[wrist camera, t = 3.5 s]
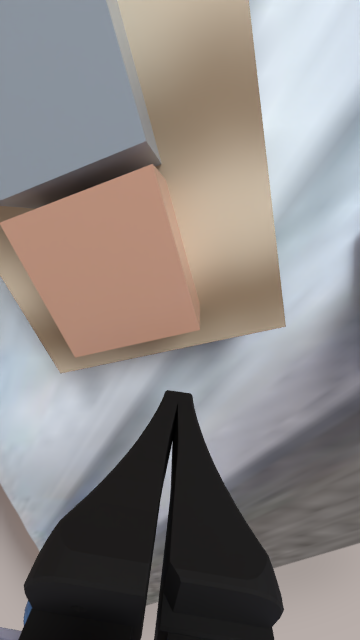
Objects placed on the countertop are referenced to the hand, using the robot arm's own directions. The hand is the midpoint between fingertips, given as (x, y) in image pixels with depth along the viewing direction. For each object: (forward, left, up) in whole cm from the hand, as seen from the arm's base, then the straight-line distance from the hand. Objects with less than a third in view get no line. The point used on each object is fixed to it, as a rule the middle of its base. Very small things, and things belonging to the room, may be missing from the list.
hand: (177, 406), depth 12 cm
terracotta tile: (+7, 0, -1) cm, 8 cm away
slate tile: (+13, 0, -1) cm, 13 cm away
